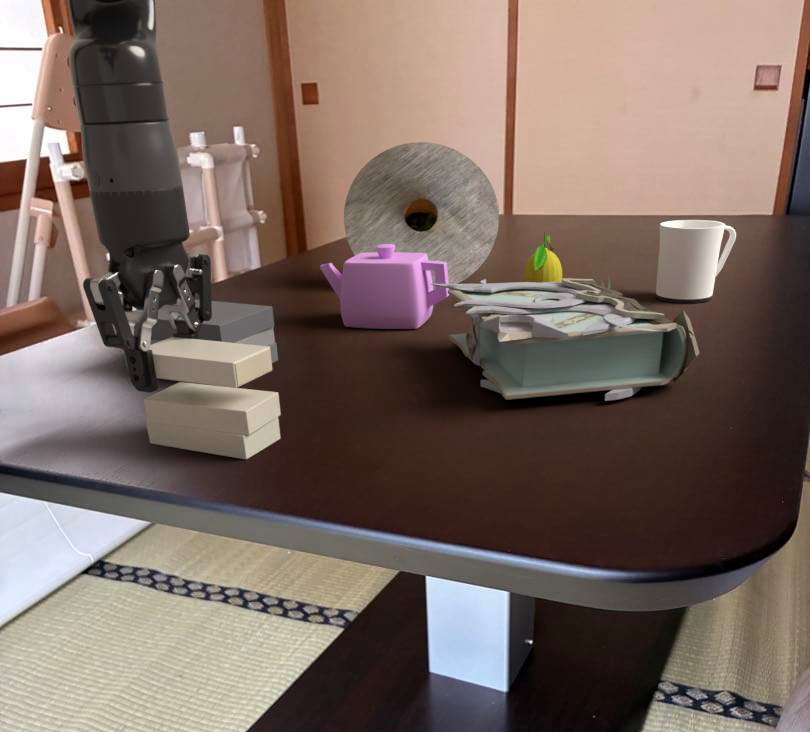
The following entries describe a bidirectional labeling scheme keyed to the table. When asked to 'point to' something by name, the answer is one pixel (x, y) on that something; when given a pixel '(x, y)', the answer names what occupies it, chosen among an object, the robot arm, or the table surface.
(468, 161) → the disc
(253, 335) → the grey stack
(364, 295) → the teapot
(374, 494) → the table surface
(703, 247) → the mug
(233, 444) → the cream lidded box
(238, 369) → the cream rectangular block
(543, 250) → the lemon
